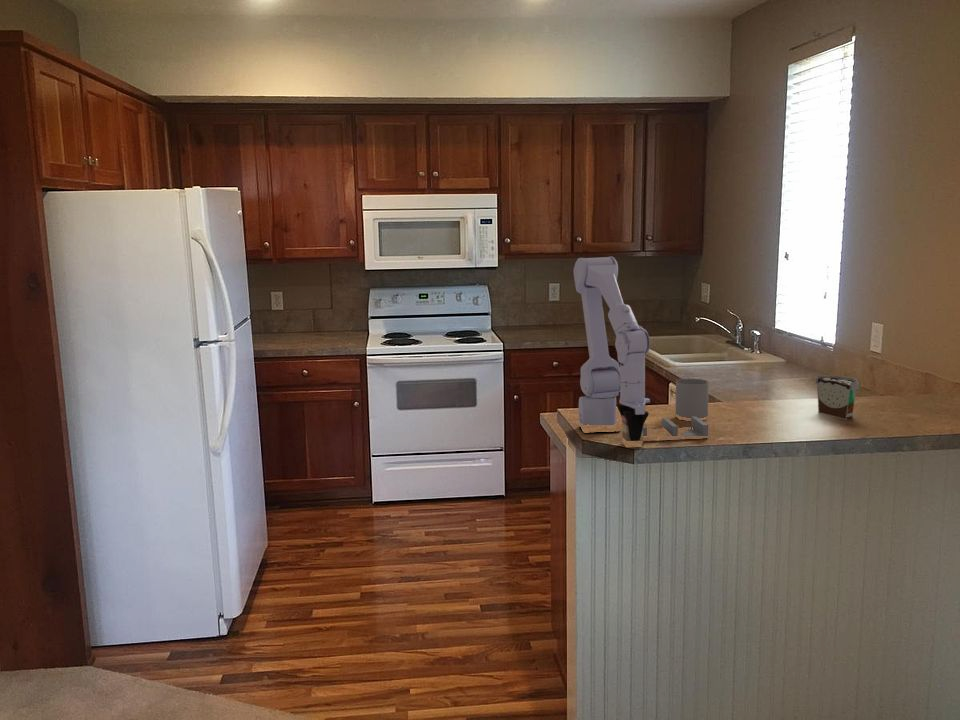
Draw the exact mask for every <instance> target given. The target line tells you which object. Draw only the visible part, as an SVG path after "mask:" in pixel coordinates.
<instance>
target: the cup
mask: <svg viewBox="0 0 960 720" xmlns="http://www.w3.org/2000/svg"><path fill="white" fill-rule="evenodd" d="M709 385H710V384H709V381H708V380H706V379H702V378H701V379H700V378H682V379H676V380H675V415H676V414H677V415H679V416H681V417H686V418H691V417H693V416H696V417H698V418H704V417H707V416H708V417H709V387H710V386H709Z"/></svg>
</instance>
